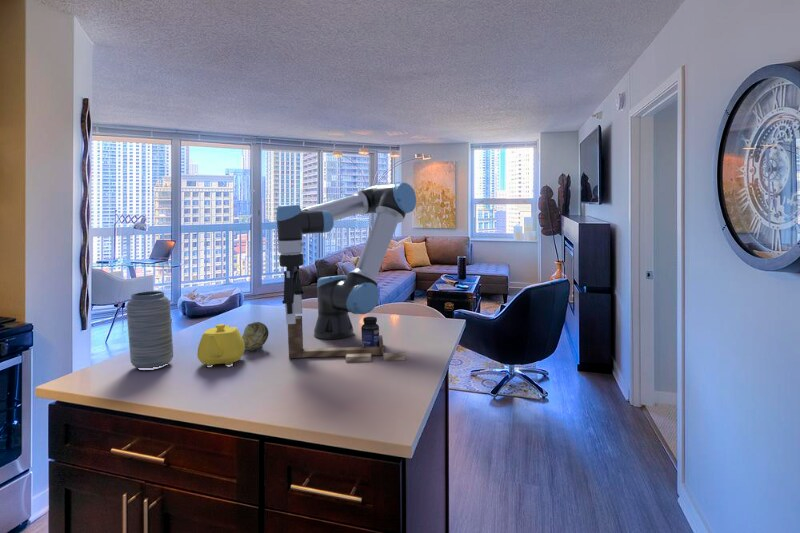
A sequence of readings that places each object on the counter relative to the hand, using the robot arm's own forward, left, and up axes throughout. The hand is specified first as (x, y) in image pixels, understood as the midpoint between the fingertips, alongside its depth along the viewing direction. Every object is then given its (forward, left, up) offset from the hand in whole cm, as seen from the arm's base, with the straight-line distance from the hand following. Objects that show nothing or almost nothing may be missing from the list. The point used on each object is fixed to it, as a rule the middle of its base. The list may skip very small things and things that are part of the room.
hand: (294, 318), depth 144 cm
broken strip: (+20, +19, -13) cm, 30 cm away
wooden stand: (+4, +14, -13) cm, 19 cm away
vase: (-20, -38, -13) cm, 45 cm away
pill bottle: (+9, +24, -13) cm, 28 cm away
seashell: (-18, -7, -13) cm, 23 cm away
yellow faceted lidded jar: (-9, -21, -13) cm, 26 cm away
